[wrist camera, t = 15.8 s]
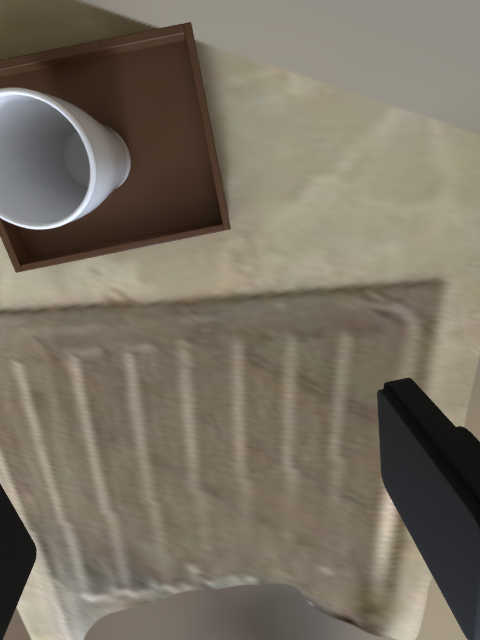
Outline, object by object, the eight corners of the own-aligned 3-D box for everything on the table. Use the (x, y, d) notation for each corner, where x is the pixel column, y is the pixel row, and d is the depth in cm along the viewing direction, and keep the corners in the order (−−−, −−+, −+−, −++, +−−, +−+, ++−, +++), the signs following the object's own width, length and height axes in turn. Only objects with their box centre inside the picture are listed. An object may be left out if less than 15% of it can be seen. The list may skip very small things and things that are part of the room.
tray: (28, 264, 37) (15, 272, 35) (-47, 80, 31) (-70, 73, 29) (229, 224, 37) (230, 229, 35) (192, 32, 31) (191, 21, 29)
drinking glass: (57, 106, 32) (-55, 70, 18) (143, 122, 33) (99, 100, 19) (58, 193, 34) (-41, 221, 20) (137, 206, 35) (95, 240, 21)
